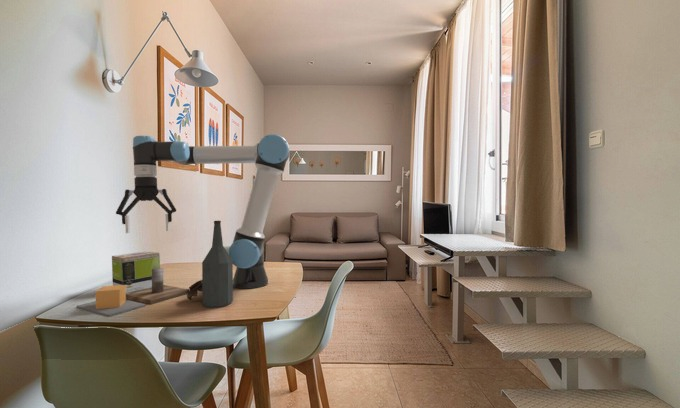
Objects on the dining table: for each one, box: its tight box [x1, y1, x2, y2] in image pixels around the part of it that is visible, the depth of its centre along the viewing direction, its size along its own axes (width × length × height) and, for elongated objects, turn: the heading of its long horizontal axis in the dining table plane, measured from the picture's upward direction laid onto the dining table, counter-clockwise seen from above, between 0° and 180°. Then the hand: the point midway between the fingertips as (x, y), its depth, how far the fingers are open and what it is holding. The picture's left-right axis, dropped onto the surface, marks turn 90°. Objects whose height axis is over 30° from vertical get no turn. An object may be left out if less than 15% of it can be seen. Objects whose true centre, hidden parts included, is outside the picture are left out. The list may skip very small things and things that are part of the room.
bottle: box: [201, 220, 234, 309], centre depth 122 cm, size 10×10×30 cm
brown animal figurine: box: [186, 279, 202, 300], centre depth 128 cm, size 12×9×8 cm
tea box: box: [111, 250, 161, 294], centre depth 143 cm, size 15×10×15 cm
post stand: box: [126, 267, 188, 305], centre depth 132 cm, size 16×16×10 cm
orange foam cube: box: [95, 285, 127, 309], centre depth 118 cm, size 7×7×6 cm
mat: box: [75, 299, 147, 317], centre depth 118 cm, size 20×12×1 cm, turn 63°
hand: (148, 231), depth 131 cm, fingers open, 13 cm apart
